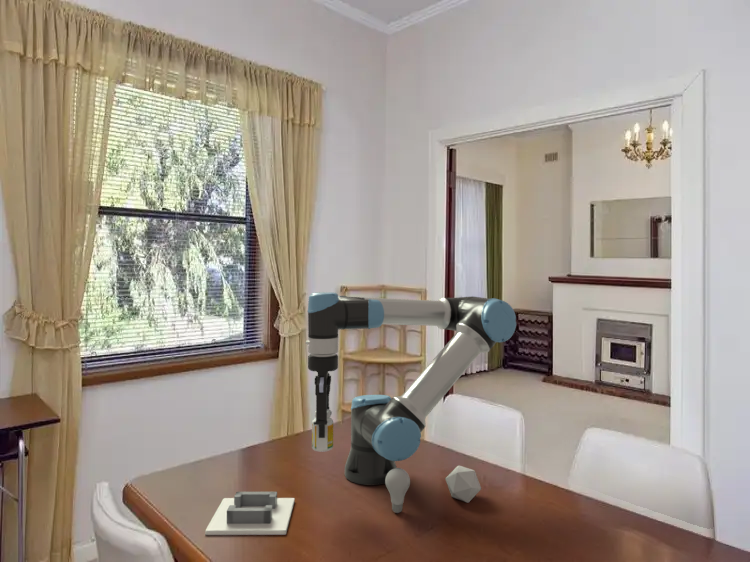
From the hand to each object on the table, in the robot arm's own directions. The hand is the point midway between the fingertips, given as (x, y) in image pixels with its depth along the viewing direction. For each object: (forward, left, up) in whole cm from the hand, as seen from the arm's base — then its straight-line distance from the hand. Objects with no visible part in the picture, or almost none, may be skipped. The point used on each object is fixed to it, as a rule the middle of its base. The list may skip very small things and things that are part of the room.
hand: (322, 445), depth 130 cm
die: (-37, -4, -16) cm, 40 cm away
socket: (+16, +6, -15) cm, 23 cm away
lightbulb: (-19, +4, -16) cm, 25 cm away
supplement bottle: (0, 0, -1) cm, 1 cm away
